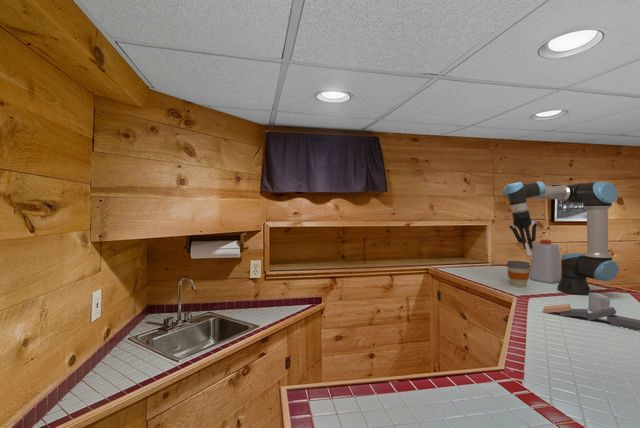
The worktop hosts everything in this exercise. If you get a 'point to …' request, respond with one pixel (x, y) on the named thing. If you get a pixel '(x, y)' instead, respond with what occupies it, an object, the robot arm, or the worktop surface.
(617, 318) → the domino
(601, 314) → the domino
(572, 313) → the domino
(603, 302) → the medicine box
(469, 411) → the worktop surface
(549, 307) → the terracotta domino
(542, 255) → the plastic bottle
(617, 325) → the domino
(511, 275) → the reusable coffee cup
